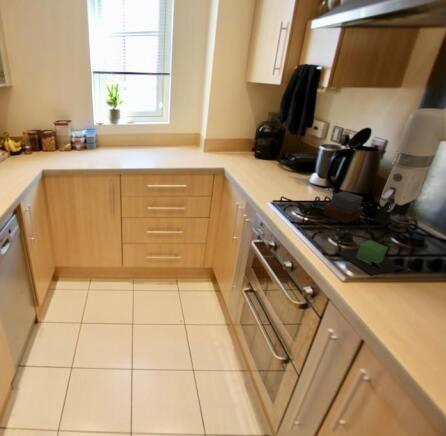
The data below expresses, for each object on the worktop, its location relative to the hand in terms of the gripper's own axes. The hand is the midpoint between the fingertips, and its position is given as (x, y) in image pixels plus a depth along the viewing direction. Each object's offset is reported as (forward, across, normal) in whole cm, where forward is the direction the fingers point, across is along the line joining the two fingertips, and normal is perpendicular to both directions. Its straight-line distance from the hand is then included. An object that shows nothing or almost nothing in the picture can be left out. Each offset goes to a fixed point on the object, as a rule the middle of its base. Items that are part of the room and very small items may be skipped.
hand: (389, 218), depth 89 cm
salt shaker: (+16, +29, +6) cm, 33 cm away
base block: (+15, +22, +22) cm, 34 cm away
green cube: (+14, -1, +1) cm, 15 cm away
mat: (+15, -1, +1) cm, 15 cm away
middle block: (+10, +22, +22) cm, 32 cm away
